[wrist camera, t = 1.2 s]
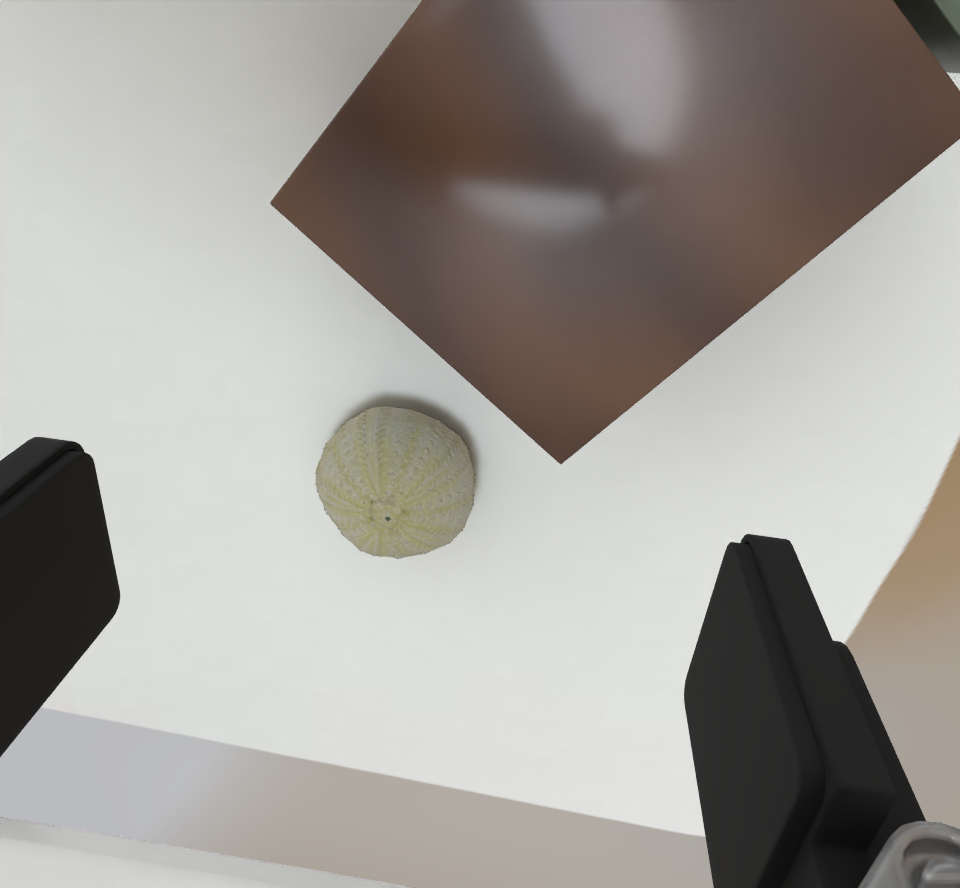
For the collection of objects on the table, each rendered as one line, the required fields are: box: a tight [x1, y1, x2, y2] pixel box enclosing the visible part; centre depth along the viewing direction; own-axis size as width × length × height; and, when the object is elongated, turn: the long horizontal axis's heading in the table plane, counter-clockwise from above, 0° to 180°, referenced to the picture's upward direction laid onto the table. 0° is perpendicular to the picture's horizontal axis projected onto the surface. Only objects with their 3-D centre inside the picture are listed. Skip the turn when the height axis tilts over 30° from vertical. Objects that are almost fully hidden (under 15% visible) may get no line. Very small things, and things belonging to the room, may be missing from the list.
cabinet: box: [270, 0, 960, 464], centre depth 29 cm, size 18×15×11 cm
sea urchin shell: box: [315, 406, 476, 559], centre depth 42 cm, size 9×8×8 cm
